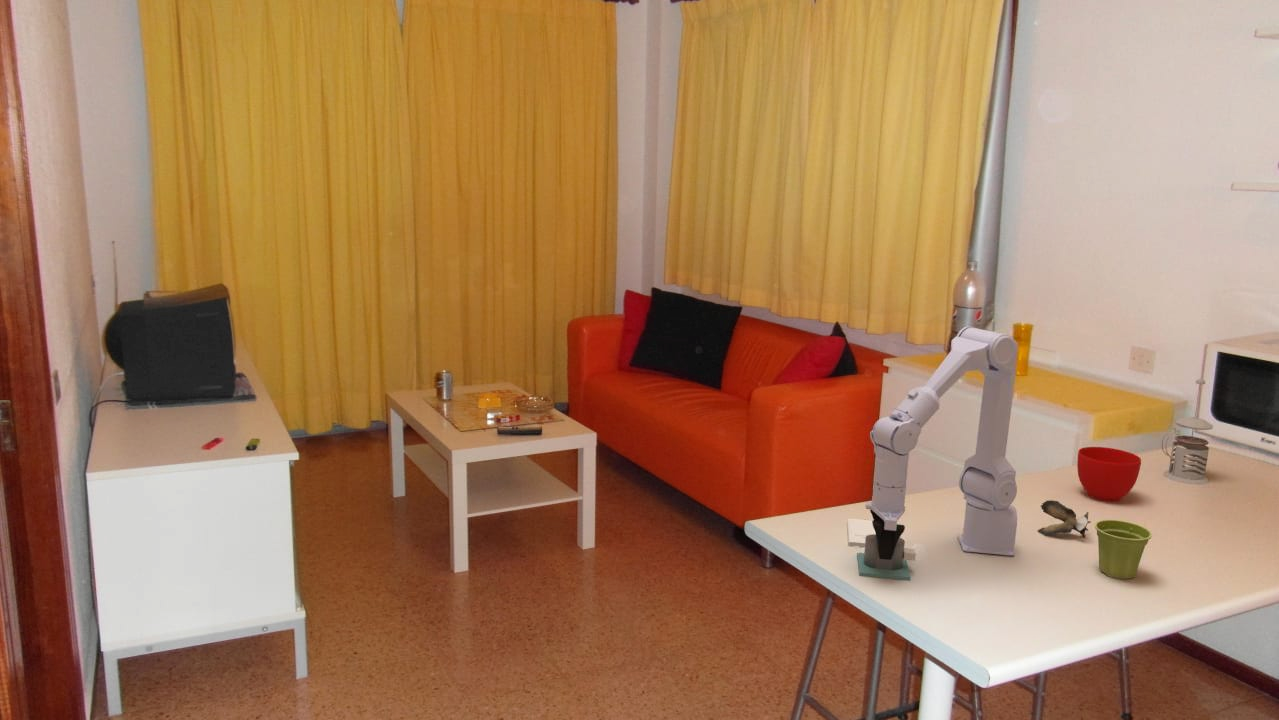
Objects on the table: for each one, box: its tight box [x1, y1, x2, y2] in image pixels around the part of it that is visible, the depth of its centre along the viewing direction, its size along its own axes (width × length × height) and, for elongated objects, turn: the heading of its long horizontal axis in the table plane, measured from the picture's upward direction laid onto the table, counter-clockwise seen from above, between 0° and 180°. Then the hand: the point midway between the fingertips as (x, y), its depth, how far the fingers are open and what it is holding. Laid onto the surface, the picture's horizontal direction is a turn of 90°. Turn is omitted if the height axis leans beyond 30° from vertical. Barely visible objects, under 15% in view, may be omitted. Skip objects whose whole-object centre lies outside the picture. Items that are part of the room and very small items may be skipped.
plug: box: [863, 534, 916, 570], centre depth 171 cm, size 9×4×5 cm, turn 80°
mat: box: [856, 552, 911, 581], centre depth 171 cm, size 9×9×1 cm
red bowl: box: [1076, 446, 1142, 503], centre depth 213 cm, size 13×17×10 cm
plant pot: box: [1094, 519, 1153, 580], centre depth 171 cm, size 9×9×9 cm
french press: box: [1160, 378, 1214, 485], centre depth 225 cm, size 10×12×25 cm
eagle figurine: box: [1037, 499, 1092, 539], centre depth 189 cm, size 8×7×9 cm
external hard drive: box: [846, 518, 876, 548], centre depth 186 cm, size 2×8×12 cm
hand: (884, 552), depth 171 cm, fingers open, 5 cm apart
